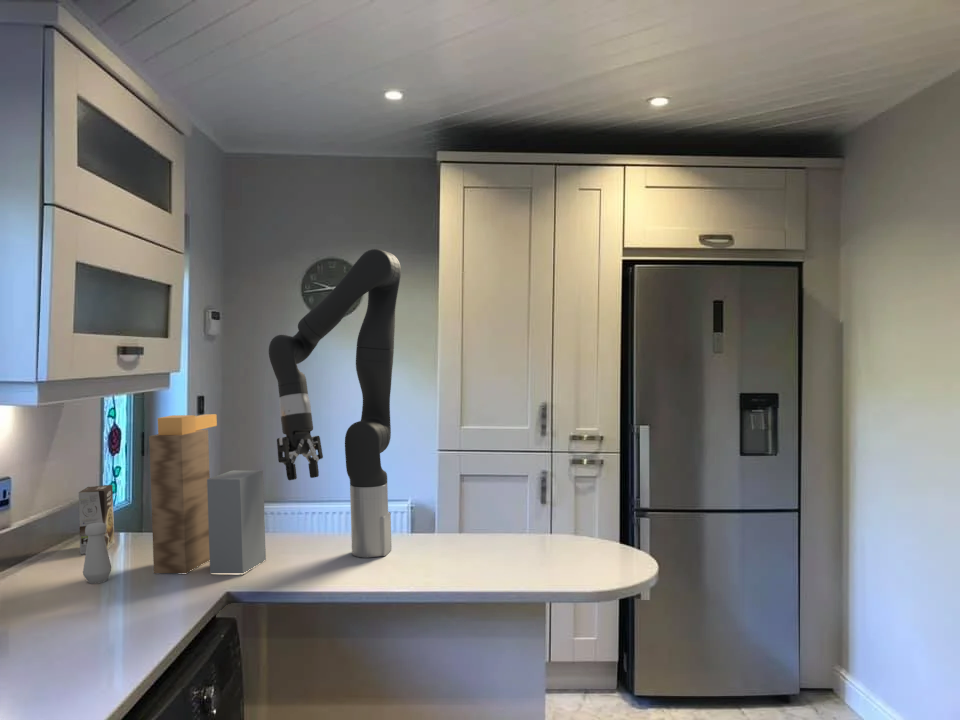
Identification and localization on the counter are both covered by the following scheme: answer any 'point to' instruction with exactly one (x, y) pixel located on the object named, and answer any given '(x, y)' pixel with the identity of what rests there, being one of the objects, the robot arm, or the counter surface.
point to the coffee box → (96, 513)
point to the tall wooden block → (179, 501)
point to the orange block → (185, 423)
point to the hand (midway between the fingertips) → (303, 478)
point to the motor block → (236, 521)
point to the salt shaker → (96, 554)
